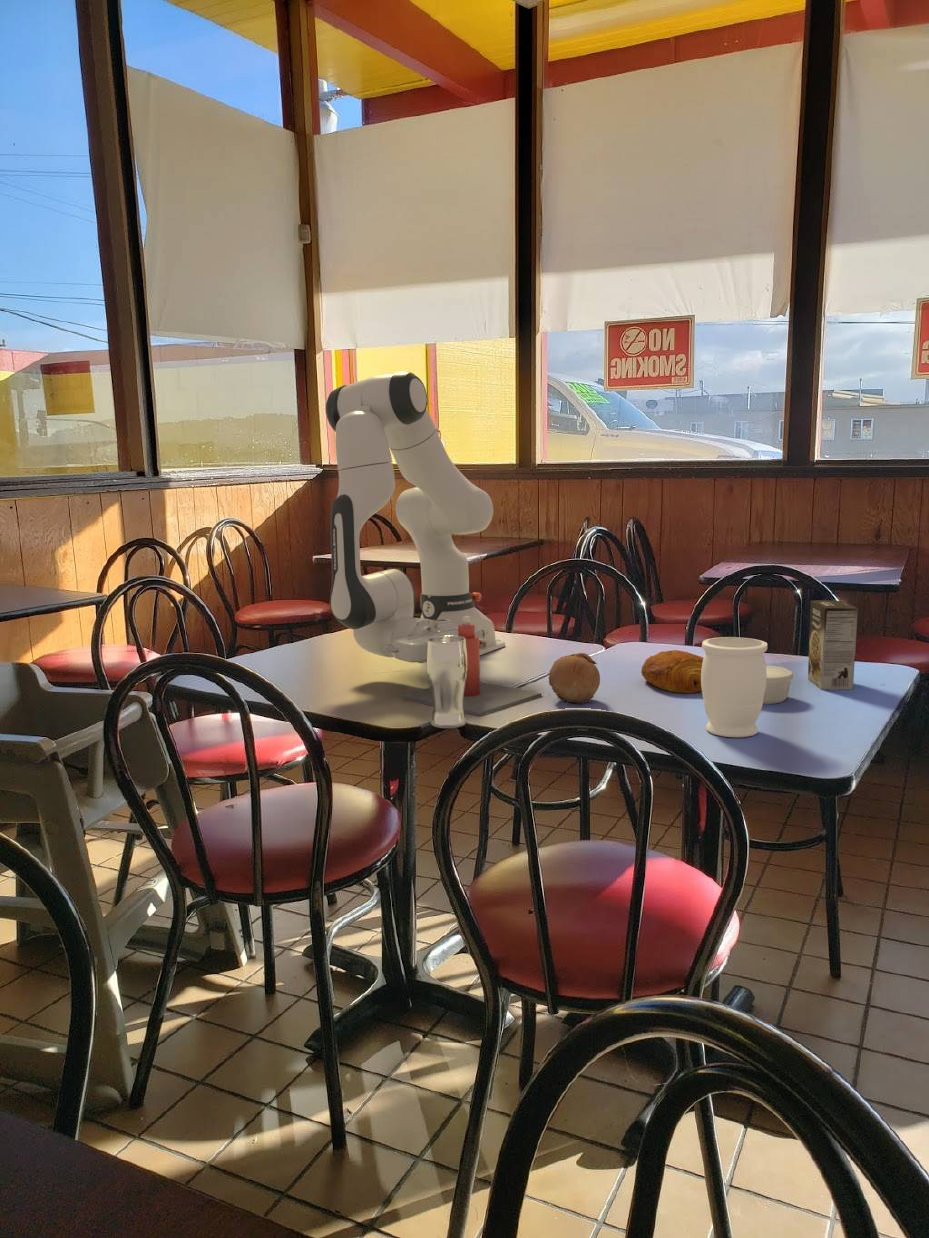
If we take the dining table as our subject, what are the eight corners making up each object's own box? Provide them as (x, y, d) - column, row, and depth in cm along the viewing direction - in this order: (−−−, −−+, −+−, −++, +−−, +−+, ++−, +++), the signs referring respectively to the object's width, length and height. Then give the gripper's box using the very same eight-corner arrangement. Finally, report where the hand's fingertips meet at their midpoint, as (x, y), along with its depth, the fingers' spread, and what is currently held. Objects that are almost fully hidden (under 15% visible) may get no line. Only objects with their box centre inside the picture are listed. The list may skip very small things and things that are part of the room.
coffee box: (806, 679, 192) (809, 600, 189) (838, 678, 192) (842, 599, 189) (820, 690, 183) (823, 607, 180) (854, 689, 183) (858, 606, 180)
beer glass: (464, 730, 161) (462, 643, 159) (424, 728, 163) (421, 642, 160) (472, 718, 168) (470, 635, 166) (433, 717, 170) (431, 634, 167)
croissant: (662, 707, 181) (664, 668, 179) (631, 678, 196) (633, 642, 193) (732, 700, 184) (735, 661, 182) (696, 672, 199) (698, 635, 196)
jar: (701, 720, 164) (703, 635, 162) (764, 724, 161) (767, 637, 159) (698, 738, 154) (700, 647, 152) (765, 742, 151) (768, 650, 149)
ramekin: (716, 697, 180) (717, 670, 179) (753, 688, 186) (754, 661, 185) (766, 709, 171) (767, 680, 170) (804, 699, 177) (805, 671, 176)
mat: (464, 681, 196) (464, 678, 196) (541, 696, 183) (541, 693, 183) (401, 698, 183) (401, 695, 183) (479, 715, 170) (479, 712, 170)
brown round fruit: (587, 712, 182) (606, 663, 183) (590, 712, 173) (610, 660, 173) (540, 693, 183) (559, 645, 184) (541, 692, 174) (561, 641, 174)
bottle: (466, 689, 187) (465, 613, 184) (485, 692, 184) (483, 616, 181) (450, 693, 184) (448, 617, 181) (468, 697, 180) (467, 619, 178)
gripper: (378, 632, 183) (430, 641, 174) (451, 617, 198) (502, 624, 189) (380, 664, 184) (431, 674, 175) (452, 647, 199) (503, 655, 190)
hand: (468, 648), depth 182 cm, fingers open, 8 cm apart
